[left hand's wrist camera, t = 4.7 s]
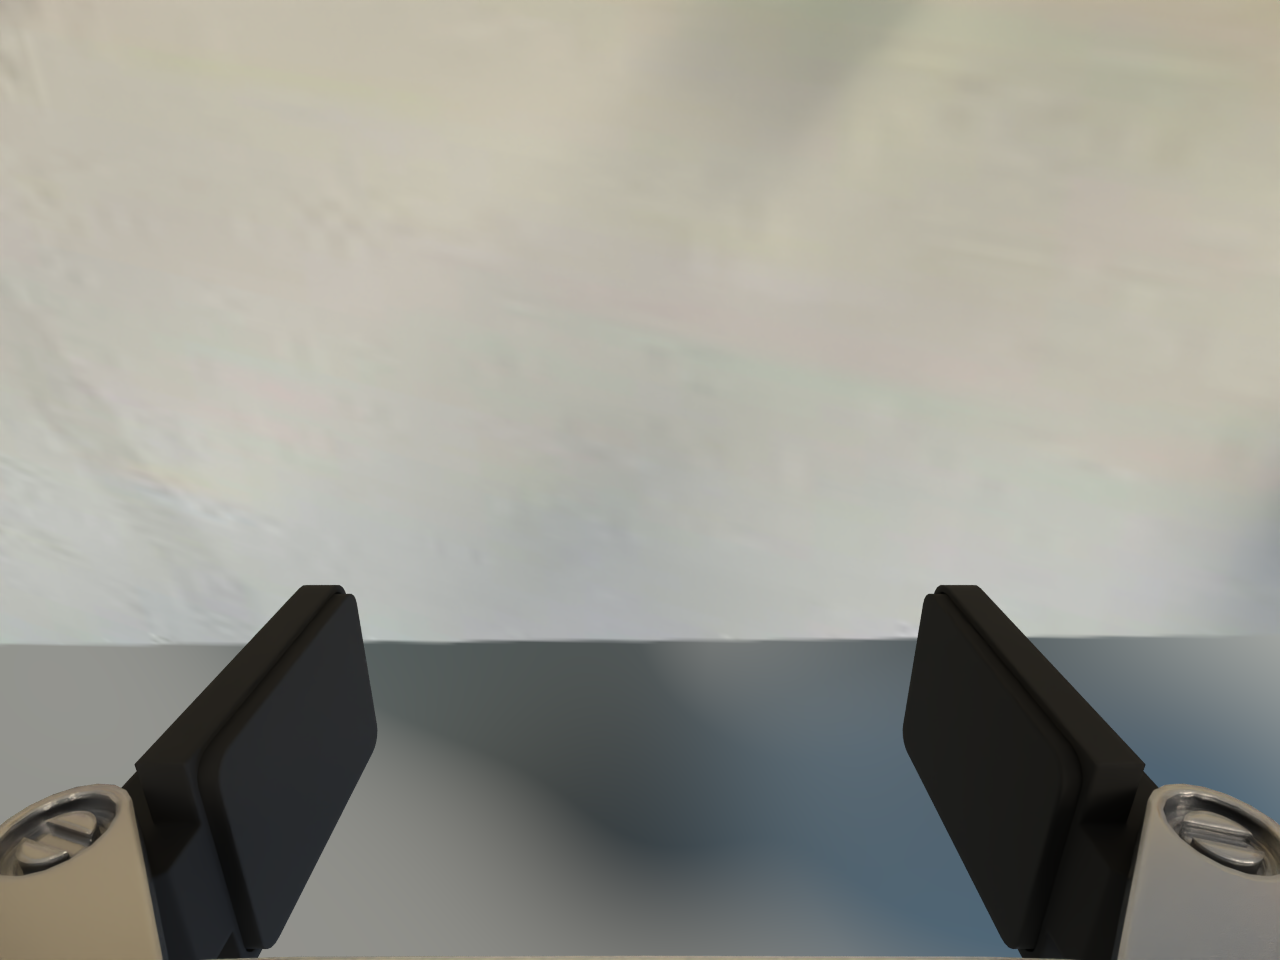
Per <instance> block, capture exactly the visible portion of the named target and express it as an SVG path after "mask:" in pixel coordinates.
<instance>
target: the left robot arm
mask: <svg viewBox="0 0 1280 960" xmlns="http://www.w3.org/2000/svg"><path fill="white" fill-rule="evenodd" d="M376 739H377V723H376V717H375V711H374V705H373V699H372V693H371V687H370V681H369V675H368V669H367V662H366V656H365V650H364V644H363V638H362V632H361V626H360V620H359V614H358V608H357V603H356V599H355V597H354V595H352V594H346V593H345V590H344V589H343V587H341V586H340V585H303V586H302V587H301V588H299V589H298V590H297V591H296V592H295V594H294V595H293V596H292V597H291V598H290V599H289V600H288V601H287V602H286V603H285V604H284V605H283V606H282V607H281V608H280V610H279V611H278V612H277V613H276V614H275V615H274V616H273V617H272V618H271V619H270V620H269V621H268V622H267V623H266V624H265V626H264V627H263V628H262V629H261V630H260V631H259V632H258V633H257V634H256V635H255V636H254V637H253V638H252V639H251V641H250V642H249V643H248V644H247V645H246V646H245V647H244V648H243V649H242V650H241V651H240V652H239V653H238V654H237V655H236V657H235V658H234V659H233V660H232V661H231V662H230V663H229V664H228V665H227V666H226V667H225V668H224V669H223V670H222V671H221V673H220V674H219V675H218V676H217V677H216V678H215V679H214V680H213V681H212V682H211V683H210V684H209V685H208V686H207V688H206V689H205V690H204V691H203V692H202V693H201V694H200V695H199V696H198V697H197V698H196V699H195V700H194V701H193V703H192V704H191V705H190V706H189V707H188V708H187V709H186V710H185V711H184V712H183V713H182V714H181V715H180V716H179V717H178V718H177V720H176V721H175V722H174V723H173V724H172V725H171V726H170V727H169V728H168V729H167V730H166V731H165V732H164V733H163V735H162V736H161V737H160V738H159V739H158V740H157V741H156V742H155V743H154V744H153V745H152V746H151V747H150V748H149V749H148V751H147V752H146V753H145V754H144V755H143V756H142V757H141V758H140V759H139V760H138V761H137V762H136V763H135V767H136V770H137V771H136V773H135V774H134V775H133V776H132V777H131V778H130V779H129V780H128V781H127V782H126V783H125V785H124V786H123V787H122V788H120V787H118V786H116V785H109V784H93V785H86V786H80V787H75V788H72V789H68V790H65V791H62V792H59V793H56V794H53V795H51V796H49V797H47V798H44V799H42V800H40V801H38V802H36V803H34V804H32V805H30V806H28V807H26V808H25V809H23V810H22V811H20V812H18V813H17V814H15V815H14V816H12V817H10V818H9V819H7V820H6V821H5V822H4V823H3V824H1V825H0V960H1280V825H1279V824H1277V823H1276V822H1275V821H1274V820H1273V819H1271V818H1270V817H1268V816H1266V815H1265V814H1263V813H1262V812H1260V811H1258V810H1257V809H1255V808H1254V807H1252V806H1251V805H1248V804H1246V803H1244V802H1242V801H1240V800H1238V799H1236V798H1233V797H1231V796H1229V795H1227V794H1224V793H1221V792H1218V791H1215V790H1212V789H1208V788H1205V787H1201V786H1194V785H1188V784H1171V785H1164V786H1162V787H1160V788H1158V787H1157V786H1156V784H1155V783H1154V782H1153V781H1152V780H1151V779H1150V778H1149V777H1148V776H1147V775H1146V774H1145V773H1144V771H1143V770H1144V767H1145V763H1144V762H1143V761H1142V760H1141V759H1140V758H1139V757H1138V756H1137V755H1136V754H1135V753H1134V752H1133V751H1132V749H1131V748H1130V747H1129V746H1128V745H1127V744H1126V743H1125V742H1124V741H1123V740H1122V739H1121V738H1120V737H1119V736H1118V735H1117V733H1116V732H1115V731H1114V730H1113V729H1112V728H1111V727H1110V726H1109V725H1108V724H1107V723H1106V722H1105V721H1104V720H1103V718H1102V717H1101V716H1100V715H1099V714H1098V713H1097V712H1096V711H1095V710H1094V709H1093V708H1092V707H1091V706H1090V705H1089V704H1088V702H1087V701H1086V700H1085V699H1084V698H1083V697H1082V696H1081V695H1080V694H1079V693H1078V692H1077V691H1076V690H1075V689H1074V688H1073V686H1072V685H1071V684H1070V683H1069V682H1068V681H1067V680H1066V679H1065V678H1064V677H1063V676H1062V675H1061V674H1060V673H1059V672H1058V670H1057V669H1056V668H1055V667H1054V666H1053V665H1052V664H1051V663H1050V662H1049V661H1048V660H1047V659H1046V658H1045V657H1044V656H1043V654H1042V653H1041V652H1040V651H1039V650H1038V649H1037V648H1036V647H1035V646H1034V645H1033V644H1032V643H1031V642H1030V641H1029V639H1028V638H1027V637H1026V636H1025V635H1024V634H1023V633H1022V632H1021V631H1020V630H1019V629H1018V628H1017V627H1016V626H1015V624H1014V623H1013V622H1012V621H1011V620H1010V619H1009V618H1008V617H1007V616H1006V615H1005V614H1004V613H1003V612H1002V611H1001V610H1000V608H999V607H998V606H997V605H996V604H995V603H994V602H993V601H992V600H991V599H990V598H989V597H988V596H987V595H986V594H985V592H984V591H983V590H982V589H981V588H979V587H978V586H977V585H940V586H939V587H937V589H936V590H935V593H934V594H928V595H926V597H925V599H924V603H923V608H922V614H921V620H920V626H919V632H918V638H917V644H916V650H915V656H914V663H913V669H912V675H911V681H910V687H909V693H908V699H907V705H906V711H905V717H904V723H903V739H904V744H905V748H906V750H907V753H908V755H909V757H910V758H911V761H912V763H913V764H914V766H915V768H916V770H917V772H918V774H919V776H920V778H921V780H922V782H923V784H924V786H925V788H926V790H927V792H928V794H929V796H930V798H931V800H932V802H933V804H934V806H935V808H936V810H937V812H938V814H939V816H940V818H941V820H942V822H943V824H944V826H945V828H946V830H947V832H948V833H949V836H950V837H951V839H952V841H953V843H954V845H955V847H956V849H957V851H958V853H959V855H960V857H961V859H962V861H963V863H964V865H965V867H966V869H967V871H968V873H969V875H970V877H971V879H972V881H973V883H974V885H975V887H976V889H977V891H978V893H979V895H980V897H981V899H982V901H983V903H984V905H985V907H986V909H987V911H988V912H989V914H990V916H991V918H992V920H993V922H994V924H995V926H996V928H997V930H998V932H999V934H1000V936H1001V938H1002V940H1003V941H1004V943H1005V944H1006V945H1007V946H1008V947H1009V948H1012V949H1018V950H1019V952H1020V954H1021V956H1022V958H1006V957H872V956H867V957H866V956H416V957H415V956H410V957H409V956H408V957H406V956H405V957H273V958H258V956H259V954H260V952H261V950H262V949H268V948H271V947H272V946H273V945H274V944H275V943H276V941H277V940H278V938H279V936H280V934H281V932H282V930H283V928H284V926H285V924H286V922H287V920H288V918H289V917H290V914H291V913H292V910H293V909H294V907H295V905H296V903H297V901H298V899H299V897H300V895H301V893H302V891H303V889H304V887H305V885H306V883H307V881H308V879H309V877H310V875H311V873H312V871H313V869H314V867H315V865H316V863H317V861H318V859H319V857H320V855H321V853H322V851H323V849H324V847H325V845H326V843H327V841H328V840H329V838H330V836H331V834H332V831H333V830H334V828H335V826H336V824H337V822H338V820H339V818H340V816H341V814H342V812H343V810H344V808H345V806H346V804H347V802H348V800H349V798H350V796H351V794H352V792H353V790H354V788H355V786H356V784H357V782H358V780H359V778H360V776H361V774H362V772H363V770H364V768H365V766H366V764H367V763H368V761H369V759H370V757H371V755H372V753H373V750H374V748H375V744H376Z"/></svg>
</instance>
